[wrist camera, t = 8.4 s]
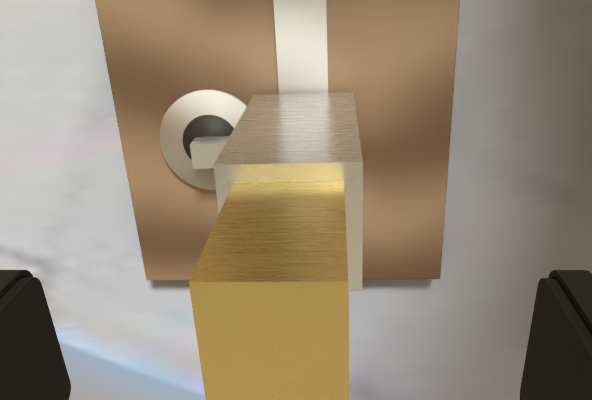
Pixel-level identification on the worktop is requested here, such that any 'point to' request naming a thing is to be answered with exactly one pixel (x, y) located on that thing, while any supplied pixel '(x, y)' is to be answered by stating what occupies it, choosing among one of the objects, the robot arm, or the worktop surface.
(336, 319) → the block
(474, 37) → the worktop surface
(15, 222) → the worktop surface
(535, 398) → the robot arm
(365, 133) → the bolt plate
